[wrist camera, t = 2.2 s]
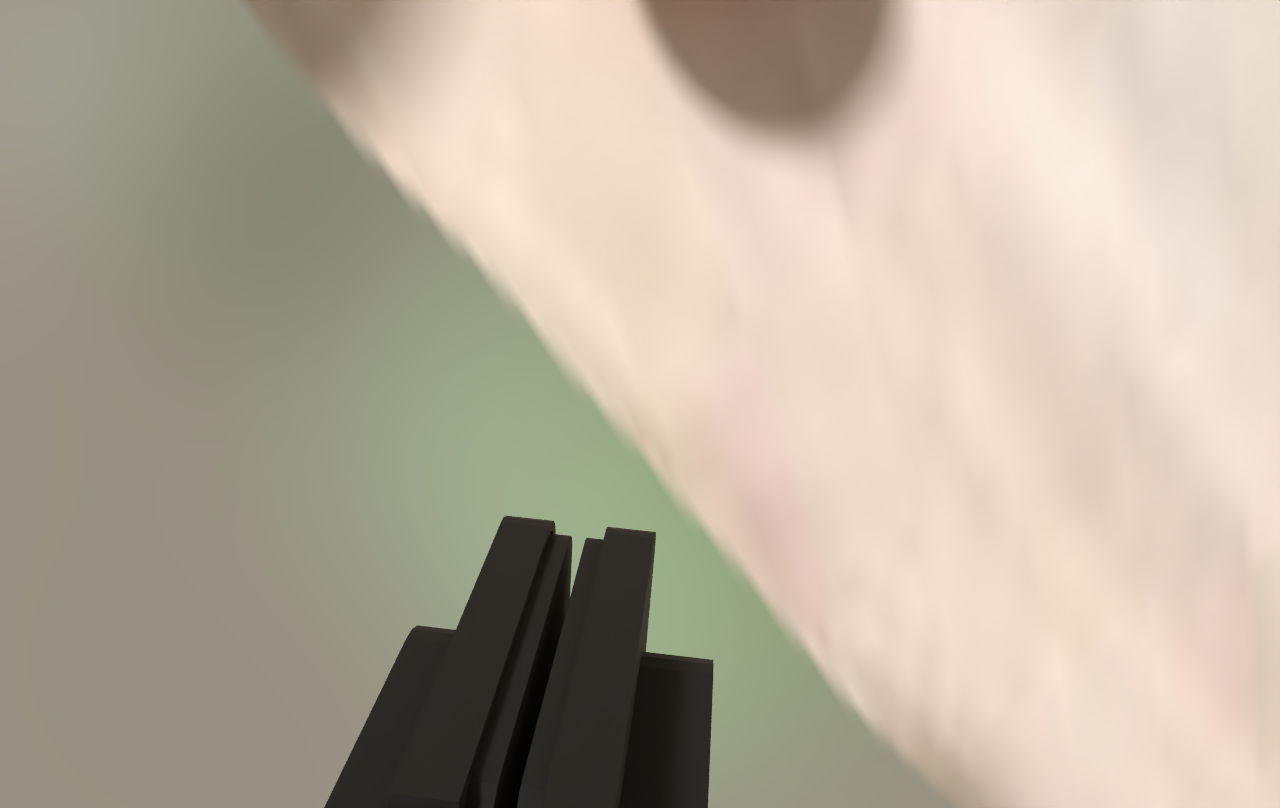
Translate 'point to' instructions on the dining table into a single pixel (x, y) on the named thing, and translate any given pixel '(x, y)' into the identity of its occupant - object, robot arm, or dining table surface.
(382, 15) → the dining table surface
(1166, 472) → the dining table surface
